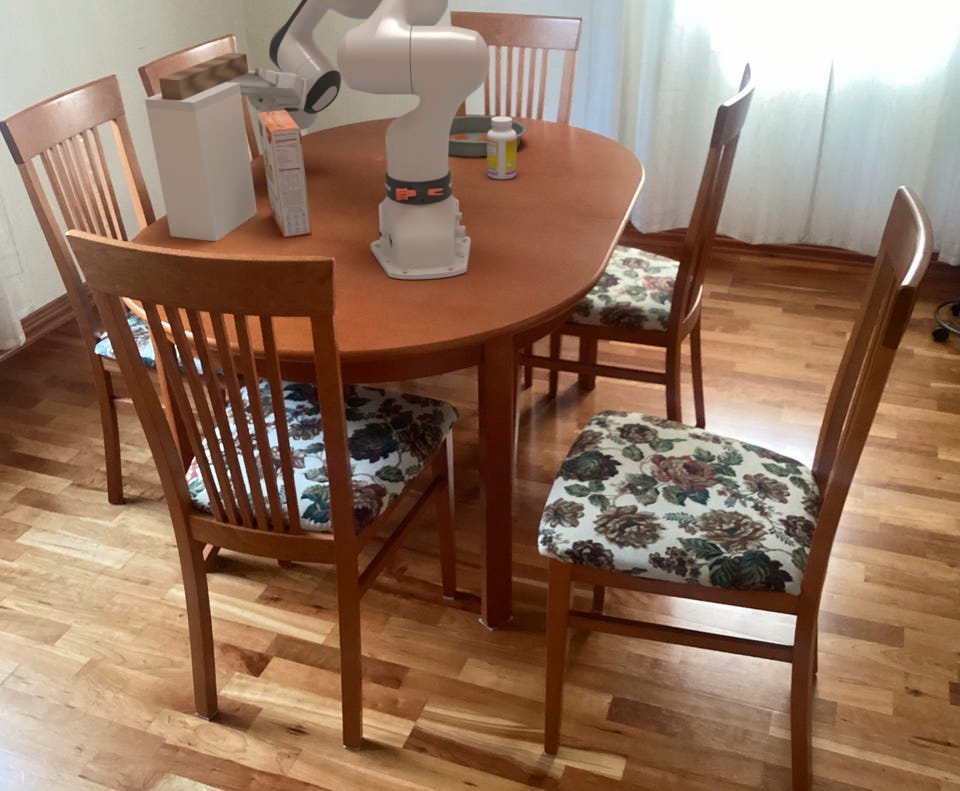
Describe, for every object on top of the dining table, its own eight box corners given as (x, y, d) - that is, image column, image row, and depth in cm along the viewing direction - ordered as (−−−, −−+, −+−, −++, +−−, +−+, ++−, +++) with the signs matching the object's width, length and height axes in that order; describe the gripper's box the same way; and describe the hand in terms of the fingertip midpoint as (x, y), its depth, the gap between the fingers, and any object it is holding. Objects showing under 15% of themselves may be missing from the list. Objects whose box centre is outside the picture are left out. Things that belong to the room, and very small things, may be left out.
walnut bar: (230, 71, 184) (228, 53, 183) (248, 72, 183) (246, 54, 182) (162, 98, 165) (158, 78, 163) (182, 100, 164) (178, 80, 162)
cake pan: (495, 165, 217) (495, 146, 214) (409, 151, 227) (408, 132, 225) (542, 140, 235) (543, 122, 233) (460, 128, 246) (460, 110, 243)
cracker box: (269, 215, 188) (256, 111, 177) (298, 211, 190) (287, 108, 179) (281, 239, 177) (268, 129, 166) (312, 234, 178) (301, 126, 168)
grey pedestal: (214, 209, 191) (193, 80, 178) (257, 213, 189) (239, 83, 175) (170, 236, 178) (144, 99, 165) (216, 241, 176) (193, 102, 162)
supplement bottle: (517, 171, 212) (518, 115, 205) (515, 180, 206) (516, 123, 200) (488, 171, 212) (488, 114, 206) (485, 180, 207) (485, 122, 200)
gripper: (228, 75, 199) (192, 52, 185) (314, 81, 194) (284, 57, 180) (224, 105, 199) (188, 83, 186) (310, 110, 194) (280, 89, 180)
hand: (236, 70), depth 183 cm, fingers open, 8 cm apart
